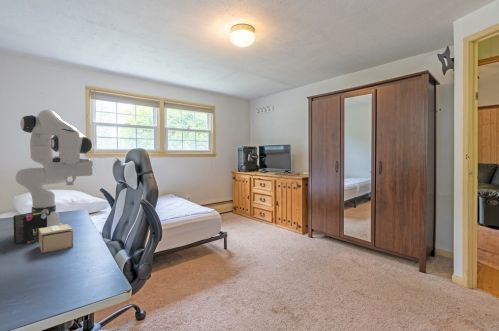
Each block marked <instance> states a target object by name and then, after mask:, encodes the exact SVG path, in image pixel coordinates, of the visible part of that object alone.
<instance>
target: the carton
mask: <svg viewBox="0 0 499 331" xmlns="http://www.w3.org/2000/svg"><path fill="white" fill-rule="evenodd" d="M38 247H39V250H40V253H41V254H47V253H51V252H55V251H60V250H64V249H69V248H73V247H74V232H73V230H70V231H64V232H58V233H52V234H46V235H41V233H40V232H39V240H38Z"/></svg>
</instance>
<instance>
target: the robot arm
mask: <svg viewBox="0 0 499 331" xmlns="http://www.w3.org/2000/svg"><path fill="white" fill-rule="evenodd" d="M20 128H21V130H22V131H23V132H25V133H29V134H30V139H29V140H30V142H29V149H30V150H29V151H30V158H31V160H32V161H33V162H35V163H38V164H40V165H42V167H29V168H24V169H23V168H22V169H20V170H18V171H17V172H16V174H15V180H16V182H17V183H18V184H19V185H20V186H23V187H24V188H25V189H27V190H28V192H29V193H30V195H31V201H32V207H31V212H43V213H47V227H50V226H56V225H57V226H58V225H64V224H63V223H62V222H60V213H59V212H57V210H56V209H57V207H56V201H55V200H56V198H55V197H56V196H55V195H56V194H55V193H54V192H53V191H52V190H48V189H45V188H43V186H45V185H58V184H61V183H65V184H66V186H74V183H75V181H76V179H77V177H91V176H92V175H93V168H92V167H93V160H91V159H89V158H84V159H83V158H81V155H80V154H85V155H86V154H87V153H89V152H90V151H91V150H92V147H93V145H92V144H93V142H92V140H91V139H90V138H89V137H88V136H87V135H86V136H85V135H84V134H83V133H81V132H80V130H78V128H76V127H75V126H73V125H71V124H70V123H67V122H66V121H64V120H63V119H62V118H61V117H60V116H59V115H58V114H57V112H55V111H53V110H50V109H44V110H41V111H40V112H39V113H38V114H37V115H33V114H32V115H31V114H30V115H25V116H23V117H22V118H21V120H20ZM54 152H55V153H58V155H57V156H54ZM68 177H69V178H70V177H71V178H72V180H70V181H69V180H68Z"/></svg>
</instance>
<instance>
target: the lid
mask: <svg viewBox="0 0 499 331" xmlns="http://www.w3.org/2000/svg"><path fill="white" fill-rule="evenodd" d="M70 230H72V231H73V230H74V228H73V227H72V226H71V225H69V224H68V223H64V224H63V225H58V226H57V225H56V226H50V227H45V228H39V232H40V233H41V235H46V234H52V233H58V232H64V231H70Z"/></svg>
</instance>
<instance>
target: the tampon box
mask: <svg viewBox="0 0 499 331" xmlns="http://www.w3.org/2000/svg"><path fill="white" fill-rule="evenodd" d="M45 227H47V213H43V212H32V211H31V212H26V213H22V214H15V215H13V243H15V244H16V243H17V244H24V245H25V244H26V245H28V244H31V243H34V242H37V241H38V242H39V228H45Z"/></svg>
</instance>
